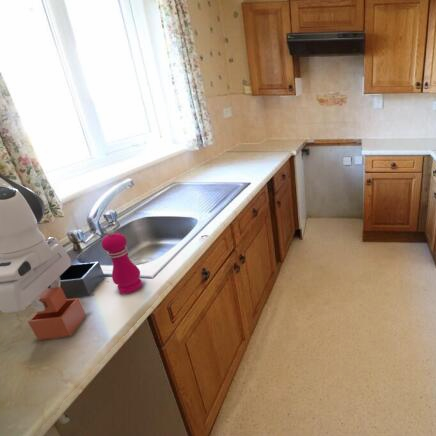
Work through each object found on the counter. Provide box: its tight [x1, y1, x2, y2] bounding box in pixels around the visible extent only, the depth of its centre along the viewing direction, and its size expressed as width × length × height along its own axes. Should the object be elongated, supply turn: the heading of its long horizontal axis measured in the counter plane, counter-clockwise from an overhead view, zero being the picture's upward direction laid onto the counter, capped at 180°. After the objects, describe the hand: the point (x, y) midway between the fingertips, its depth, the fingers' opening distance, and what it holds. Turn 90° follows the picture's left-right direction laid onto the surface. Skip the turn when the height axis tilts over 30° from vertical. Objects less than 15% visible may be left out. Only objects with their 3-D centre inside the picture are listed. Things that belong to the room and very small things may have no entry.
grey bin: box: [48, 261, 106, 299], centre depth 99 cm, size 10×10×6 cm
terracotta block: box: [36, 287, 68, 314], centre depth 81 cm, size 4×4×4 cm
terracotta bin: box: [27, 297, 87, 341], centre depth 83 cm, size 8×8×6 cm
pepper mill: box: [101, 228, 143, 294], centre depth 95 cm, size 7×7×20 cm
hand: (50, 301), depth 81 cm, fingers closed on terracotta block, 4 cm apart
